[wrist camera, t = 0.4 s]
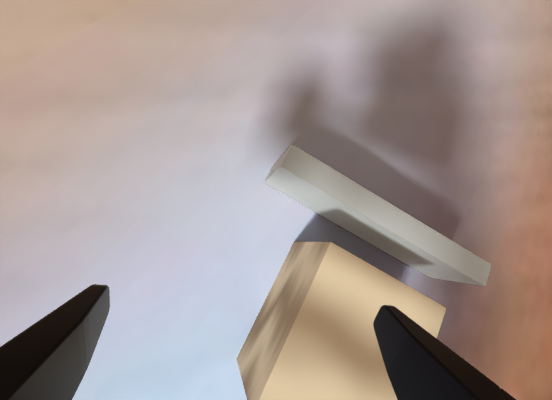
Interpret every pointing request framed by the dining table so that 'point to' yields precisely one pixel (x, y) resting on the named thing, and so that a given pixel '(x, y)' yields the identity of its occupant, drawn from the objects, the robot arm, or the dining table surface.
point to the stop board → (373, 219)
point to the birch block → (326, 328)
